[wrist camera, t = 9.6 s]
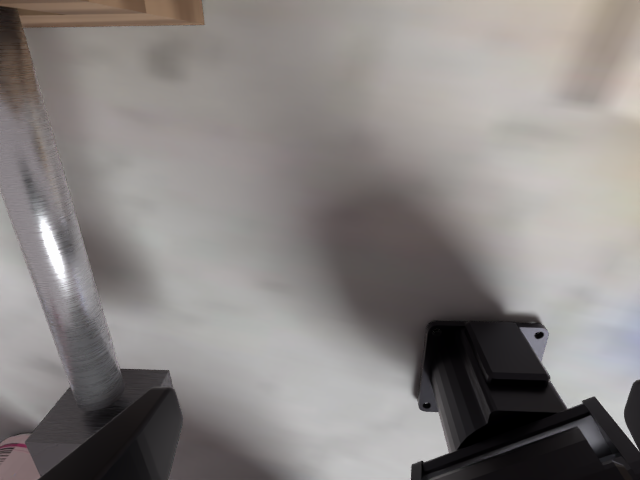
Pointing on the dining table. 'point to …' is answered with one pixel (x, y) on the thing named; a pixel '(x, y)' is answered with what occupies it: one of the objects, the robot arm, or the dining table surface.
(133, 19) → the block
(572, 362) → the dining table surface
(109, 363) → the shaft
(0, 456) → the beverage can
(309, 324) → the dining table surface
